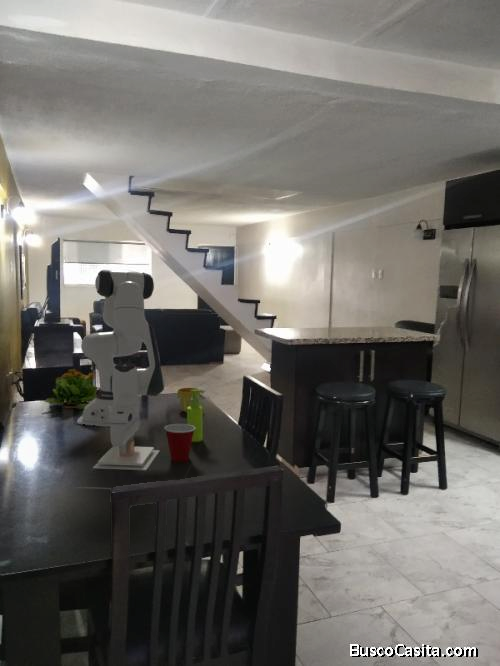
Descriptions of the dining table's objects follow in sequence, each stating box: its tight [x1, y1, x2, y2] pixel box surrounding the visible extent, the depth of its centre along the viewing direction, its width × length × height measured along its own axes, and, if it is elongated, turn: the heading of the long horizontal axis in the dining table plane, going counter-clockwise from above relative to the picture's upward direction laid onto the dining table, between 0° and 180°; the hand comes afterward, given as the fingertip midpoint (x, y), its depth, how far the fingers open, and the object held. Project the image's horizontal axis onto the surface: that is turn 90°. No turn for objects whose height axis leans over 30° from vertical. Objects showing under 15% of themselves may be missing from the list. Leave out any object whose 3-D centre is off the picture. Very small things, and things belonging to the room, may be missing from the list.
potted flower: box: [43, 368, 99, 410], centre depth 239 cm, size 25×24×18 cm
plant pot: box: [176, 387, 201, 413], centre depth 234 cm, size 10×10×10 cm
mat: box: [92, 449, 160, 471], centre depth 173 cm, size 18×18×1 cm
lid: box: [97, 439, 155, 466], centre depth 173 cm, size 15×15×5 cm
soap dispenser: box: [186, 388, 206, 443], centre depth 192 cm, size 6×7×20 cm
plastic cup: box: [163, 423, 196, 463], centre depth 173 cm, size 11×11×12 cm
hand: (126, 449), depth 173 cm, fingers closed on lid, 4 cm apart
